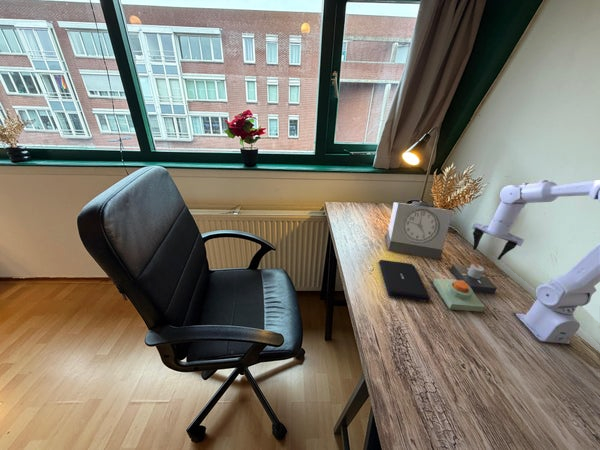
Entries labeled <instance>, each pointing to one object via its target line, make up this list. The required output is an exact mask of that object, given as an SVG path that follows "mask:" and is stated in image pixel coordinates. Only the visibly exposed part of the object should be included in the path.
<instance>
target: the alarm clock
mask: <svg viewBox="0 0 600 450" xmlns="http://www.w3.org/2000/svg"><path fill="white" fill-rule="evenodd" d="M453 212H454V210H451V209H446V208H439V207H434V206H433V203H429V202H423V201H414V200H413V201H412V203H403V202H396V201H394V202H393V205H392V209H391V216H390V218H389V225H388V229H387V232H386V236H385V237H386V243H387V250H388V251H391V252H395V253H401V254H402V253H403V254H407V255H412V256H419V257H423V258H431V259H435V260H441V259H442V256H443V253H444V248H445V243H446V240H447V236H448V231H449V228H450V224H451V220H452V216H453Z"/></svg>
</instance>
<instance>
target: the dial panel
mask: <svg viewBox="0 0 600 450" xmlns="http://www.w3.org/2000/svg"><path fill="white" fill-rule="evenodd" d="M470 266H471V265H468V264H466V265H465V264H452V265H451V267H450V271H451V272H452V273H453V275H454V277H456V279H457V280H463V281H465V283H467V284H468V285H469V286H470V288H471V289H472V290H473V293H480V294H481V293H483V294H495V293H496V291H497V289H498V287H497V286H496V285H495V283H493V281H491V280H490V279H489V277H488V276H487V275H486V274H485V273H483V274H482V276H481V277H480V279H475V278H472V277H470V276H469V275H468V274H467V273H468V270H469V268H470Z"/></svg>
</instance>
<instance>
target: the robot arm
mask: <svg viewBox="0 0 600 450" xmlns="http://www.w3.org/2000/svg"><path fill="white" fill-rule="evenodd" d="M582 196H583V197H584V196H589V197H590V198H591V199H592V200H598V202H600V179H594V180H586V181H579V182H572V183H565V184H557V183H555V182H554V181H549V180H548V179H541V180H539V181H538V182H535V183H533V182H532V183H529V182H523V183H521V185H515V184H509V185H506V186H504V187H502V189H501V190H500V192H499V198H500V200H501V201H500V202H499V205H498V206H497V209H496V211H495V213H494V215H493V218H492V219H491V221H490V223H489V225H486V224H481V223H478V222H474V223H473V224H472V226H471V227H470V228H471V230H473V232H472V235H473V236H472V237H473V246H472V250H474V251H475V250H477V249H478V247H479V244H480V241H481V239H482V238H483V235H484V234H487V235H490V236H493V237H495V238H499V239H501V240H504V241H506V243H505V244H504V246H503V249H502V251H501V253H500V254H499V255H498V257H497V260H498V261H500V260H501V259H502V258H503V257H504V256H505V255H506V254H507V253H509V252H510V251H512V250H513V249H515V248H516V247H517V246H519V247H522V245H523V243H524V241H525V239H524V238H521V237H519V236H516V235H515V234H513V233H510V232H511V230H512V228H513V226H514V224H515V222H516V220H517V219H518V217H519V214H520V213H521V211H522V209H524V208H525V206H526V205H528V204H532V203H533V204H534V203H536V204H537V203H552V202H554V201H555V200H557V199H558V198H559V197H562V198H563V197H582ZM599 283H600V242H599V243H598V244H597V245H595V246H594V247H593V248H592V249H591V250H590V251H589V252H588V253H586V255H584V256H583V258H581V259H580V260H579V261H577V263H575V264H574V265H573V266H572V267H571V268H570V269H569V270H568V271H567V272H565V273H564V274H560V275H559V276H556V277H554V278H552V279H551V280H550V281H548V282H545V283H541V284H539V285H538V286H537V287H536V290H535V295H536V299H535V301H534V303H532V305H531V307H530V308H529V310H528V311H527V312H526V313H516V314H515V315H516V317H517V318H518V319H519V320H520V322H522V324H523V325H524V326H526V328H528V330H529V331H530V332H531V333H532V334H533V335H534V336H535V337H536V339H537V340H539V341H540V342H544V343H553V344H565V345H566V344H567V345H568V344H570V343H571V341H570V339H571V338H573V336H574V335H575V334H576V333H577V331H579V329H580V326H581V325H580V323H579V321H578V320H577V319H576V317H575V315H574V313H575V311H576V309H577V308H578V307H584V306H586V305H588V304H589V303H590V302H591V300H592V296H593V294H595V293H596V292H597V289H596V287H595V286H596V285H598V284H599Z"/></svg>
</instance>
